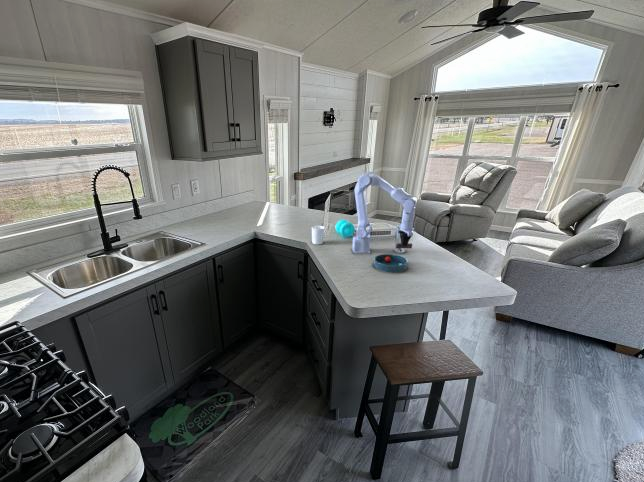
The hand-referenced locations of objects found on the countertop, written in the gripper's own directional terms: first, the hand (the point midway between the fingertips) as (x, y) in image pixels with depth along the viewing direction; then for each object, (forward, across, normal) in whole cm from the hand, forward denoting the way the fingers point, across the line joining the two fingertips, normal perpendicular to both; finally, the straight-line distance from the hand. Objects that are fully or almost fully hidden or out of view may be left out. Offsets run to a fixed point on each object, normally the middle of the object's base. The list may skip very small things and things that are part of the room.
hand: (404, 245), depth 175 cm
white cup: (+8, +26, +44) cm, 52 cm away
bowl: (+8, -11, +9) cm, 17 cm away
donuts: (+3, +39, +26) cm, 47 cm away
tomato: (+7, -6, +9) cm, 14 cm away
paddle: (+2, 0, 0) cm, 2 cm away
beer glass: (+8, +11, -2) cm, 13 cm away
